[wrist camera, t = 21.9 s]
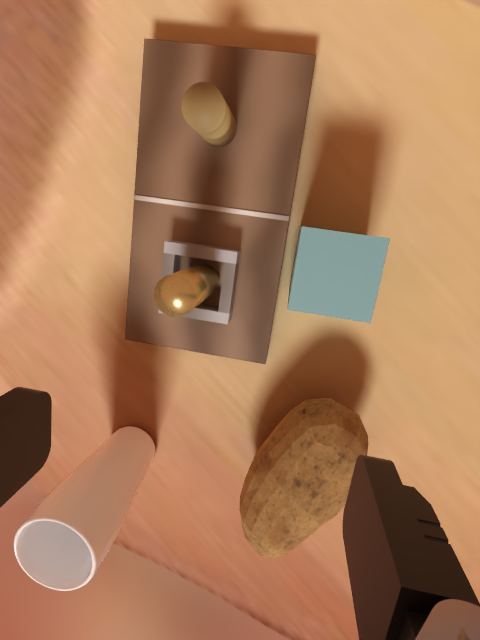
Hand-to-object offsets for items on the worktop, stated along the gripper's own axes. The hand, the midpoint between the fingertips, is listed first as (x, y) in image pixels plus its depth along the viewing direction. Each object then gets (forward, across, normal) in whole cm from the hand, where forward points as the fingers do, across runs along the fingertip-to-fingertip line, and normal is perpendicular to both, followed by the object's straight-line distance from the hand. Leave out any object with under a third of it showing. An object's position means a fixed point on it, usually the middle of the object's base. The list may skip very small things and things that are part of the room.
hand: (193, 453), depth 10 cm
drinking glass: (+28, +12, +20) cm, 37 cm away
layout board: (+28, +6, -6) cm, 29 cm away
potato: (+28, -6, +16) cm, 33 cm away
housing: (+28, -5, -3) cm, 29 cm away
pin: (+26, +6, 0) cm, 27 cm away
